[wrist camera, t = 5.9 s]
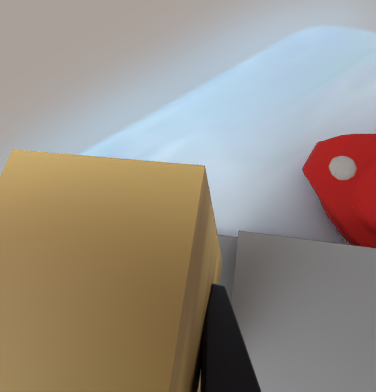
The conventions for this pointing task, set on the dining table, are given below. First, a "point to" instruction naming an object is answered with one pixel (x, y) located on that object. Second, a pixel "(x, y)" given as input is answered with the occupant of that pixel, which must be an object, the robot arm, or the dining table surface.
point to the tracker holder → (347, 184)
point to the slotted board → (304, 311)
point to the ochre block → (104, 273)
